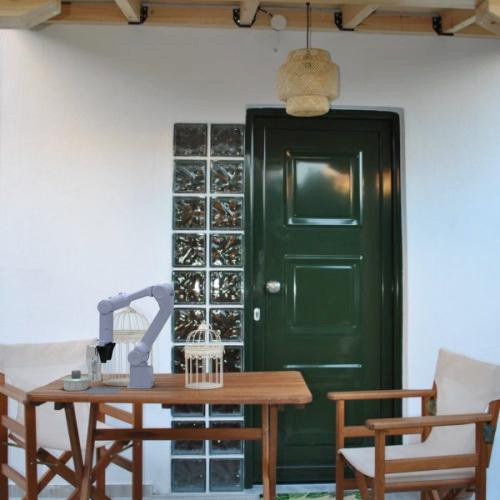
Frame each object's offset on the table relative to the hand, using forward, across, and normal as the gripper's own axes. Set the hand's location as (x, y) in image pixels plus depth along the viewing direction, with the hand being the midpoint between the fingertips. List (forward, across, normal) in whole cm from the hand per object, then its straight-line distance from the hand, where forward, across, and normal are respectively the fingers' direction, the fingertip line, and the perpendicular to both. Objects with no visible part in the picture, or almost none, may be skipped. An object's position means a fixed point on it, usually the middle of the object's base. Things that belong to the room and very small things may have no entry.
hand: (106, 361), depth 267 cm
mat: (+10, +11, +2) cm, 15 cm away
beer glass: (+10, -11, -8) cm, 17 cm away
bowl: (+10, +8, -10) cm, 16 cm away
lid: (+6, +8, -10) cm, 14 cm away
